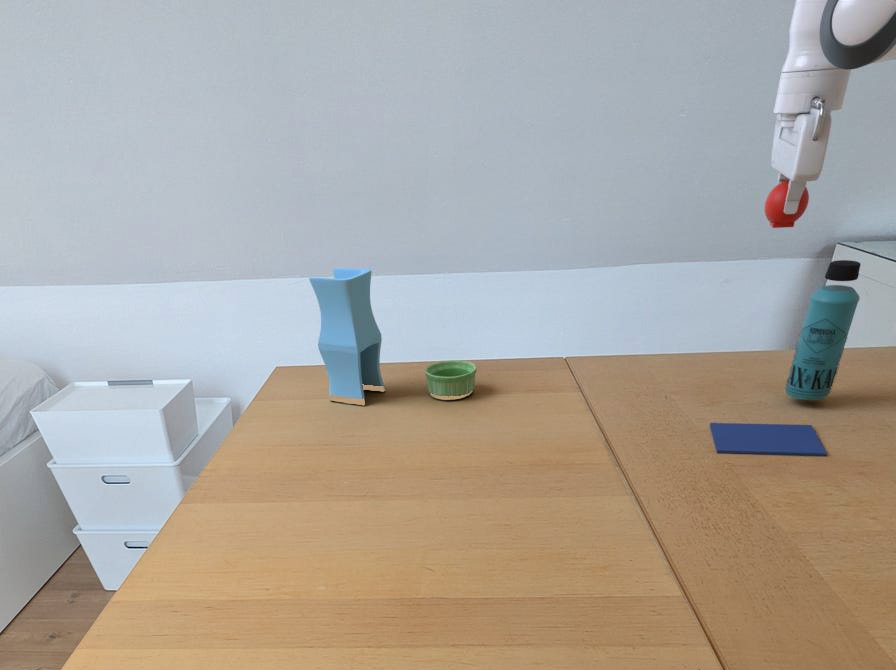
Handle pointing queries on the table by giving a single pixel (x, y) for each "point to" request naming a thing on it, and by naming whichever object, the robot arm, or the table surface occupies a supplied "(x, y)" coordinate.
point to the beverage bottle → (824, 334)
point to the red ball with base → (776, 205)
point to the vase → (348, 332)
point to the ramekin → (451, 378)
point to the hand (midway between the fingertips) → (784, 209)
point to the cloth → (766, 439)
